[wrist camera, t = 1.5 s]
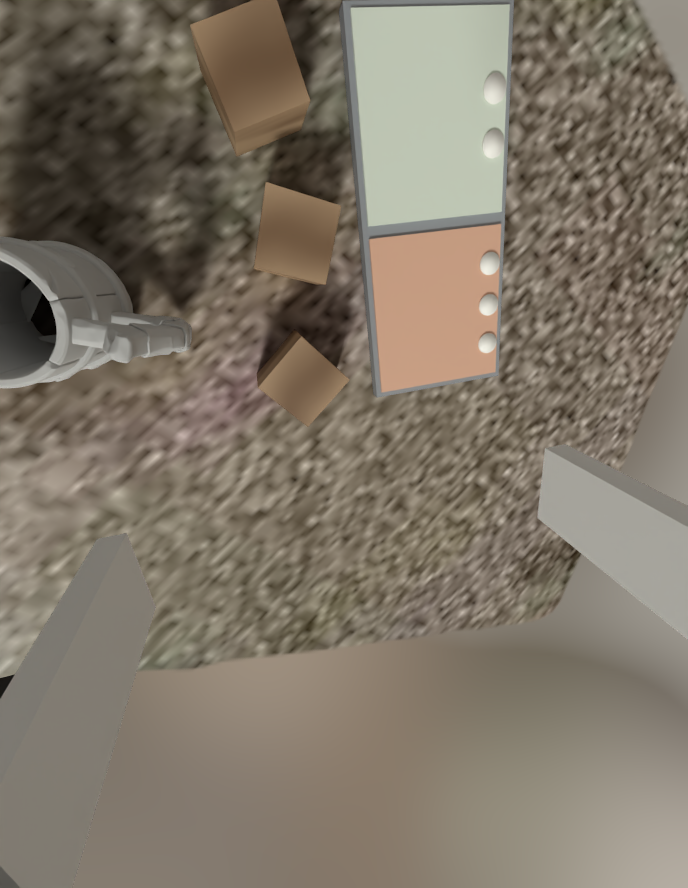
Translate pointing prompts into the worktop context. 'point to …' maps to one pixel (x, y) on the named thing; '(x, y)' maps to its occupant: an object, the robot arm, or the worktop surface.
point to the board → (429, 182)
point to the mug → (71, 315)
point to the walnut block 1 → (252, 73)
